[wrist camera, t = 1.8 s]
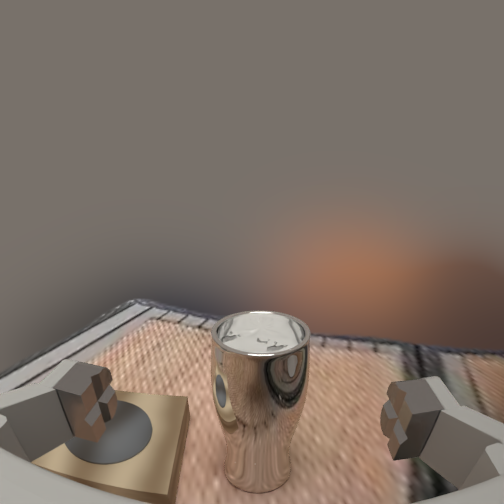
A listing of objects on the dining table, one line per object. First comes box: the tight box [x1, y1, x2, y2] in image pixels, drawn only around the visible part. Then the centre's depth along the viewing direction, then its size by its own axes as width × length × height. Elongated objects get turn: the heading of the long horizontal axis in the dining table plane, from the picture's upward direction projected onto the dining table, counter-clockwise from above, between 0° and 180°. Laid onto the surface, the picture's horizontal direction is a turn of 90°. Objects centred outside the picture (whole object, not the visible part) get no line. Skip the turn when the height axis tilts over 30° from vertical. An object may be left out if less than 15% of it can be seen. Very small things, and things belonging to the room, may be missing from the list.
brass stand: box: [31, 390, 190, 504], centre depth 25 cm, size 14×13×3 cm
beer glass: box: [211, 311, 310, 493], centre depth 23 cm, size 7×7×15 cm
